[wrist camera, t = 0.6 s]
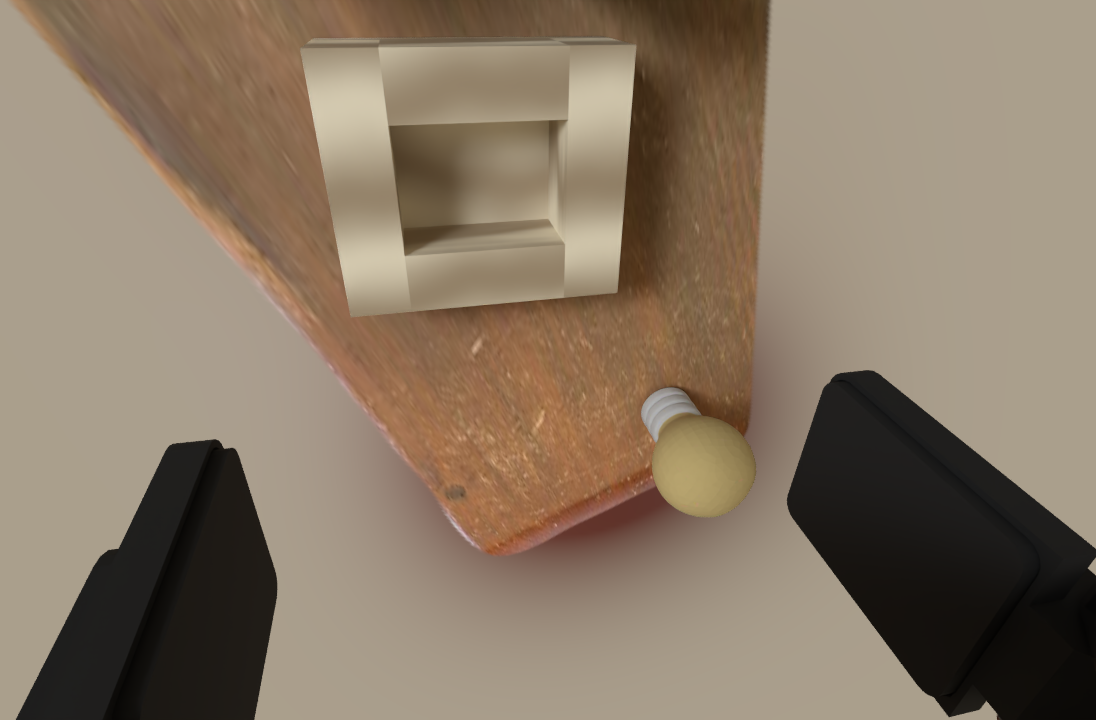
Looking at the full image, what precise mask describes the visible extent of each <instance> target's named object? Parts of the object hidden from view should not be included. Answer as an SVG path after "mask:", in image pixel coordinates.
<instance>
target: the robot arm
mask: <svg viewBox="0 0 1096 720" xmlns="http://www.w3.org/2000/svg"><path fill="white" fill-rule="evenodd" d="M787 505H788V509H789V512H790V515H791V516H792V518H793V519H794V520H795V522H796V523H797V525H798V526H799V527H800V529H801V530H802V531H803V532H804V534H805V535H806V537H807V538H808V539H809V541H810V542H811V543H812V545H813V546H814V547H815V549H816V550H817V551H818V553H819V554H820V555H821V557H822V558H823V559H824V561H825V562H826V563H827V565H828V566H829V567H830V569H831V570H832V571H833V573H834V574H835V575H836V577H837V578H838V579H839V581H840V582H841V584H842V585H843V586H844V587H845V589H846V590H847V592H848V593H849V594H850V595H851V597H852V598H853V600H854V601H855V602H856V603H857V605H858V606H859V608H860V609H861V610H862V612H863V613H864V614H865V616H866V617H867V618H868V620H869V621H870V622H871V624H872V625H873V626H874V628H875V629H876V630H877V632H878V633H879V634H880V636H881V637H882V638H883V640H884V641H885V642H886V644H887V645H888V646H889V648H890V649H891V650H892V652H893V653H894V654H895V656H896V657H897V658H898V660H899V661H900V662H901V664H902V665H903V666H904V668H905V669H906V670H907V672H908V673H909V674H910V676H911V677H912V678H913V680H914V681H915V682H916V684H917V685H918V686H919V687H920V688H921V689H922V691H924V692H925V693H926V694H928V695H930V696H932V697H934V698H935V699H936V701H937V702H938V703H939V705H940V706H941V707H942V709H943V710H944V711H945V712H946V714H947V715H948V716H949V717H952V716H956V715H960V714H964V713H968V712H972V711H976V710H979V709H980V708H981V707H982V706H983V705H984V703H985V702H986V701H987V702H988V703H989V704H990V706H991V707H992V708H993V709H994V710H995V711H996V713H997V720H1096V575H1095V574H1093V573H1092V572H1091V571H1090V570H1089V569H1088V567H1089V565H1090V564H1091V563H1092V561H1093V560H1094V559H1095V558H1096V549H1095V548H1094V547H1093V546H1092V545H1090V544H1089V543H1088V542H1087V541H1085V540H1084V539H1083V538H1082V537H1081V536H1079V535H1078V534H1077V533H1076V532H1074V531H1073V530H1072V529H1070V528H1069V527H1068V526H1067V525H1066V524H1064V523H1063V522H1062V521H1061V520H1059V519H1058V518H1057V517H1056V516H1054V515H1053V514H1052V513H1051V512H1049V511H1048V510H1047V509H1046V508H1045V507H1043V506H1042V505H1041V504H1040V503H1038V502H1037V501H1036V500H1035V499H1033V498H1032V497H1031V496H1030V495H1028V494H1027V493H1026V492H1025V491H1023V490H1022V489H1021V488H1020V487H1018V486H1017V485H1016V484H1015V483H1014V482H1012V481H1011V480H1010V479H1008V478H1007V477H1006V476H1005V475H1004V474H1002V473H1001V472H1000V471H999V470H997V469H996V468H995V467H994V466H992V465H991V464H990V463H989V462H987V461H986V460H985V459H984V458H982V457H981V456H980V455H979V454H977V453H976V452H975V451H974V450H973V449H971V448H970V447H969V446H968V445H966V444H965V443H964V442H963V441H961V440H960V439H959V438H958V437H956V436H955V435H954V434H953V433H951V432H950V431H949V430H948V429H946V428H945V427H944V426H943V425H942V424H940V423H939V422H938V421H937V420H935V419H934V418H933V417H932V416H930V415H929V414H928V413H927V412H925V411H924V410H923V409H922V408H920V407H919V406H918V405H917V404H915V403H914V402H913V401H912V400H911V399H909V398H908V397H907V396H906V395H904V394H903V393H901V391H899V390H898V389H897V388H896V387H894V386H893V385H892V384H891V383H889V382H888V381H887V380H886V379H884V378H883V377H882V376H881V375H879V374H878V373H876V372H874V371H869V370H865V371H857V372H847V373H840V374H837V375H835V376H834V377H833V378H832V379H831V382H830V383H829V384H827V385H826V386H825V387H824V389H823V391H822V394H821V397H820V400H819V403H818V406H817V409H816V412H815V415H814V418H813V421H812V424H811V427H810V430H809V433H808V436H807V439H806V442H805V445H804V448H803V451H802V454H801V457H800V460H799V463H798V466H797V469H796V472H795V475H794V478H793V481H792V484H791V487H790V490H789V493H788V497H787ZM276 599H277V577H276V572H275V569H274V566H273V562H272V559H271V556H270V553H269V550H268V547H267V544H266V540H265V537H264V534H263V531H262V528H261V525H260V522H259V518H258V515H257V512H256V509H255V506H254V503H253V499H252V496H251V493H250V490H249V487H248V483H247V480H246V477H245V474H244V471H243V468H242V464H241V462H240V458H239V455H238V453H237V451H236V450H235V449H234V448H228V449H224V448H223V446H222V444H221V443H220V442H219V441H218V440H216V439H214V440H205V441H196V442H186V443H176V444H172V445H170V446H169V447H168V448H167V450H166V451H165V453H164V455H163V457H162V459H161V462H160V464H159V466H158V468H157V470H156V472H155V474H154V476H153V479H152V480H151V482H150V485H149V487H148V489H147V491H146V493H145V495H144V497H143V499H142V501H141V503H140V505H139V508H138V510H137V512H136V514H135V516H134V518H133V520H132V522H131V524H130V526H129V528H128V531H127V533H126V535H125V537H124V539H123V541H122V543H121V545H120V547H119V549H114V550H108V551H107V552H105V553H104V554H103V555H102V556H101V557H100V558H99V559H98V561H97V563H96V564H95V565H94V567H93V569H92V571H91V573H90V575H89V577H88V579H87V580H86V582H85V584H84V586H83V588H82V590H81V593H80V594H79V596H78V598H77V600H76V602H75V604H74V606H73V608H72V610H71V612H70V614H69V616H68V618H67V620H66V622H65V624H64V626H63V628H62V630H61V632H60V634H59V636H58V638H57V640H56V642H55V644H54V646H53V648H52V650H51V652H50V653H49V655H48V658H47V659H46V661H45V663H44V665H43V667H42V669H41V671H40V673H39V675H38V677H37V679H36V681H35V683H34V685H33V687H32V689H31V691H30V693H29V695H28V697H27V699H26V701H25V703H24V705H23V707H22V709H21V711H20V713H19V714H18V716H17V718H16V720H254V717H255V713H256V707H257V702H258V696H259V691H260V686H261V680H262V675H263V669H264V664H265V658H266V653H267V647H268V642H269V636H270V631H271V626H272V621H273V615H274V610H275V605H276Z"/></svg>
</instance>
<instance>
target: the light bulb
mask: <svg viewBox="0 0 1096 720" xmlns="http://www.w3.org/2000/svg"><path fill="white" fill-rule="evenodd" d="M641 416H642V420H643V422H644V424H645V425H646V426H647V428H648V430H649V432H650V434H651V435H652V437H653V439H654V441H655V442H656V445H655V448H654V452H653V457H652V471H653V477H654V481H655V483H656V486H657V488H658V490H659V491H660V493H661V495H662V496H663V497H664V498H665V499H666V501H667V502H668V503H670V504H671V505H672V506H673V507H675V508H676V509H678V510H680V511H682V512H684V513H686V514H690V515H693V516H697V517H717V516H720V515H723V514H725V513H727V512H729V511H731V510H732V509H734V508H735V507H736V506H738V505H739V504H740V503H741V502H742V501H743V500H744V498H745V497H746V496H747V494H748V492H749V491H750V489H751V487H752V485H753V483H754V480H755V475H756V464H755V459H754V456H753V453H752V450H751V448H750V446H749V444H748V443H747V441H746V440H745V438H744V437H743V436H742V434H741V433H740V432H739V431H737V430H736V429H735V428H734V427H732V426H731V425H730V424H728V423H726V422H724V421H722V420H720V419H717V418H714V417H709V416H702V415H701V413H700V412H699V411H698V409H697V408H696V406H695V405H694V403H693V402H692V401H691V400H690V398H689V396H688V395H687V394H686V393H685V392H684V391H683V390H681V389H678V388H674V387H668V388H663V389H660V390H658V391H656V392H654V393H653V394H651V395H650V396H649V397H648V398H647V400H646V401H645V403H644V404H643V407H642V411H641Z"/></svg>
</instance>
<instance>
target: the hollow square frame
mask: <svg viewBox="0 0 1096 720" xmlns="http://www.w3.org/2000/svg"><path fill="white" fill-rule="evenodd" d="M300 51H301V56H302V61H303V67H304V72H305V77H306V83H307V88H308V93H309V99H310V104H311V109H312V114H313V120H314V125H315V130H316V136H317V141H318V146H319V152H320V157H321V162H322V167H323V173H324V178H325V183H326V189H327V194H328V199H329V205H330V210H331V215H332V220H333V226H334V231H335V236H336V242H337V247H338V252H339V258H340V263H341V268H342V273H343V279H344V284H345V289H346V295H347V300H348V305H349V311H350V316H351V317H358V316H369V315H380V314H391V313H402V312H413V311H424V310H435V309H446V308H457V307H467V306H478V305H489V304H500V303H511V302H522V301H533V300H544V299H555V298H566V297H577V296H588V295H599V294H610V293H617V290H618V277H619V264H620V251H621V238H622V225H623V212H624V199H625V186H626V173H627V160H628V147H629V134H630V121H631V108H632V95H633V82H634V69H635V56H636V45H635V44H631V43H627V42H623V41H620V40H616V39H612V38H608V37H604V36H573V37H439V38H313V39H312V40H311V41H309V42H308V43H307V44H305V45H304V46H303V47H301V48H300Z"/></svg>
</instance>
